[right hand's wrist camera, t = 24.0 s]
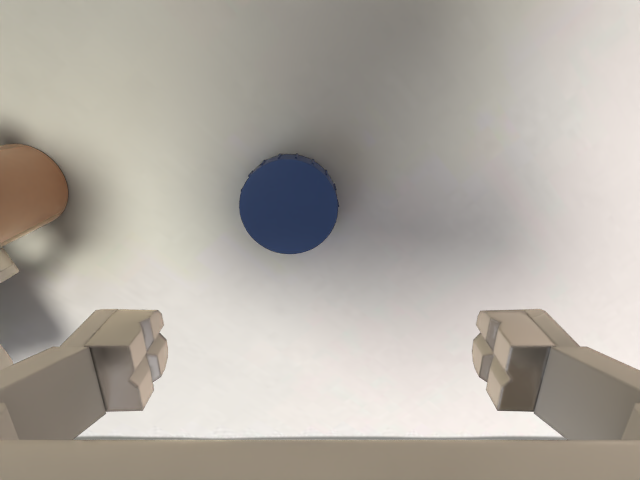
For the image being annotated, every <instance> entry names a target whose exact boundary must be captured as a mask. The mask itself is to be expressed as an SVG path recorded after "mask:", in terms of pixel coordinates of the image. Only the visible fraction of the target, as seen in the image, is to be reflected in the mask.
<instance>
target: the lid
mask: <svg viewBox="0 0 640 480" xmlns="http://www.w3.org/2000/svg"><path fill="white" fill-rule="evenodd" d="M335 190H336V186H335V184H333V182H332V180H331V178H330V176H329V175H328V173H327V170H324V169H323V168H322V167H321V166H320V165H319V164H317V163H316V162H315V161H314V159H312V160H311V159H309V158H306V157H304V156H300V155H298V154H296V155H293V154H285V155H281V154H279V155H278V156H275V157H272V158H270V159H268V160H264V161H263V162H262V163H261V164H260V165H259V166H258V167H257V168H256V169H255V170H254V171H252V172H251V173H250V174H249V178H248V179H247V181H246V182H245V184H244V186H243V188H242V190H241V195H240V201H239V209H240V215H241V219H242V222H243V225H244V227H245V228H246V230H247V232H248V233H249V234H250V236H251V237H252V238H253V239H254V240H255V241H256V242H257V243H259V244H260V245H262V246H263V247H265V248H267V249H269V250H271V251H274V252H277V253H282V254H297V253H302V252H306V251H308V250H311V249H313V248H315V247H316V246H318V245H319V244H320V243H322V242H323V241H324V240H325V239H326V238H327V237H328V235H329V234H330V233H331V231H332V229H333V227H334V225H335V223H336V219H337V214H338V207H339V203H338V199H337V196H336V191H335Z"/></svg>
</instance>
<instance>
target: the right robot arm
mask: <svg viewBox="0 0 640 480" xmlns="http://www.w3.org/2000/svg"><path fill="white" fill-rule="evenodd" d="M163 326H164V323H163V318H162V314H161V313H160V312H159V311H158V310H129V309H120V310H118V309H100V310H95V311H94V312H93V314H92V315H91V316H90V317H89V318H88V319H87V320H86V321H85V322H84V323H83V324H82V325H81V326H80V327H79V328H78V329H77V330H76V331H75V332H74V333H73V334H72V335H71V336H70V337H69V338H68V339H67V340H66V341H65V342H64V343H63V344H62V345H61V346H60V347H51V348H49V349H47V350H45V351H42V352H40V353H38V354H36V355H33V356H31V357H29V358H27V359H25V360H22V361H20V362H18V363H16V364H13V365H11V366H9V367H7V368H5V369H2V370H0V480H640V370H638V369H635V368H633V367H631V366H629V365H626V364H624V363H622V362H620V361H618V360H615V359H613V358H611V357H609V356H606V355H604V354H602V353H600V352H598V351H595V350H593V349H591V348H589V347H580V346H579V345H578V344H577V343H576V342H575V341H574V340H573V339H572V338H571V337H570V336H569V335H568V334H567V333H566V332H565V331H564V330H563V329H562V328H561V327H560V326H559V325H558V324H557V322H556V321H555V320H554V319H553V318H552V317H551V316H550V315H549V314H548V313H547V312H546V311H544V310H541V309H524V310H488V311H480V312H479V315H478V317H477V322H476V326H477V327H478V329H479V331H480V332H481V333H480V334H479V335H478V336H477V337H476V338H475V339H474V340H473V347H472V357H473V364H474V367H475V370H476V372H477V374H478V376H479V377H480V378H481V379H483V380H484V381H486V382H487V387H486V391H487V393H488V394H489V396H490V398H491V400H492V402H493V404H494V405H495V407H496V409H497V411H530V412H534V414H535V415H537V416H538V417H539V418H540V419H542V420H543V421H544V422H545V423H547V424H548V425H549V426H551V427H552V428H553V429H554V430H556V431H557V432H558V433H559V434H561V435H562V436H563V437H564V438H566V439H567V440H73V439H74V438H76V437H77V436H78V435H79V434H81V433H82V432H83V431H85V430H86V429H87V428H88V427H90V426H91V425H92V424H93V423H95V422H96V421H97V420H98V419H100V418H101V417H102V416H104V415H105V414H106V412H110V411H143V409H144V407H145V406H146V404H147V402H148V400H149V398H150V396H151V394H152V393H153V391H154V387H153V382H154V381H156V380H157V379H159V378H160V377H161V376H162V374H163V372H164V370H165V367H166V363H167V358H168V346H167V340H166V339H165V338H164V337H163V336H162V335H161V334H160V333H159V332H160V331H161V329H162V327H163Z"/></svg>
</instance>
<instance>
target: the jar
mask: <svg viewBox="0 0 640 480" xmlns="http://www.w3.org/2000/svg"><path fill="white" fill-rule="evenodd" d="M67 201H68V187H67V183H66V180H65V177H64V175H63V173H62V171H61V170H60V168H59V167H58V166H57V164H56V163H55V162H54V161H53V160H52V159H51V158H50V157H48V156H47V155H46V154H44V153H43V152H41V151H39V150H38V149H35V148H33V147H30V146H27V145H23V144H5V145H0V248H1V247H3V246H4V245H6V244H8V243H10V242H12V241H14V240H16V239H18V238H20V237H22V236H24V235H26V234H28V233H30V232H32V231H34V230H36V229H38V228H40V227H42V226H44V225H46V224H48V223H50V222H52V221H54V220H55V219H57V218H58V217H59V216H60V215H61V214H62V212H63V211H64V209H65V207H66V205H67Z"/></svg>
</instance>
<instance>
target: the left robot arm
mask: <svg viewBox="0 0 640 480" xmlns="http://www.w3.org/2000/svg"><path fill="white" fill-rule="evenodd" d="M18 272H19V270H18V268H17V267H16V265H15V264H14V262H13V261H12V259H11V258H10V257H9V255H8V254H7V253H6V251H5V250H4V248H0V283H2V282H4V281H5V280H7V279H9V278H10V277H12V276H13V275H15V274H17V273H18ZM11 365H13V362H12V359H11V358H10V356H9V355H8V353H7V352H6V351H5V350H4V348H3V347H2V346H1V344H0V370H2V369H5V368H7V367H9V366H11Z"/></svg>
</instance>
